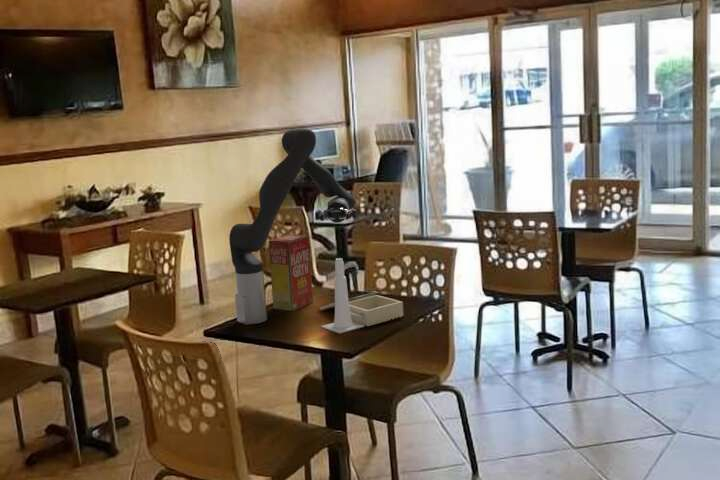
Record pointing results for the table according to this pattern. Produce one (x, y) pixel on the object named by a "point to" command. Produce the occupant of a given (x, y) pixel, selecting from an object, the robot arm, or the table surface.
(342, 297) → the cosmetic bottle
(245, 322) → the robot arm
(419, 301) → the table surface
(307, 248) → the food packaging
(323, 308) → the lid
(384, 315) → the case
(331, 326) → the mat
